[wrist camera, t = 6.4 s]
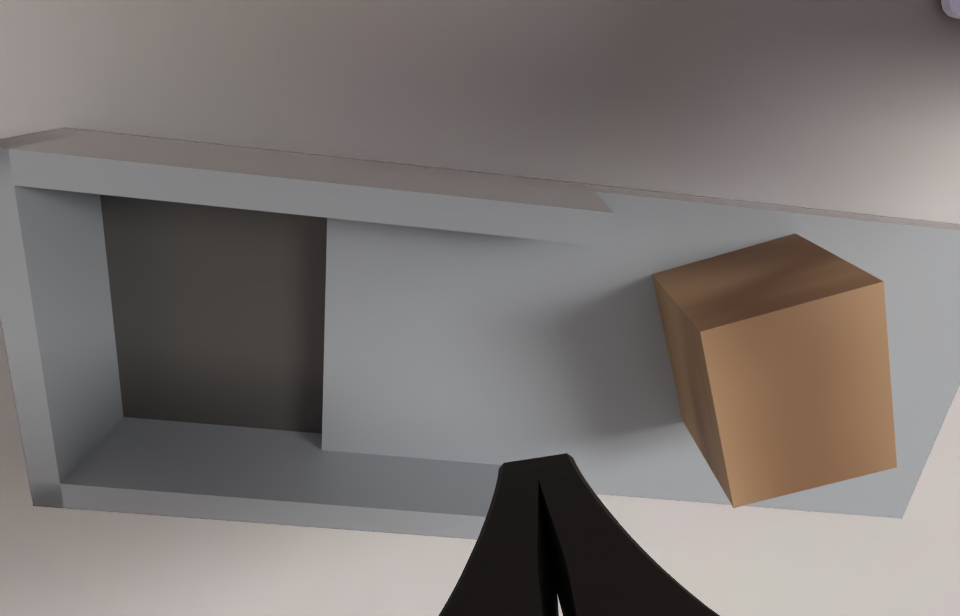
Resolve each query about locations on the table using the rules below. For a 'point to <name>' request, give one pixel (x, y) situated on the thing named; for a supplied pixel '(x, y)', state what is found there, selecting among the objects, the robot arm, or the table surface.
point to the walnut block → (780, 367)
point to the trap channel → (390, 333)
